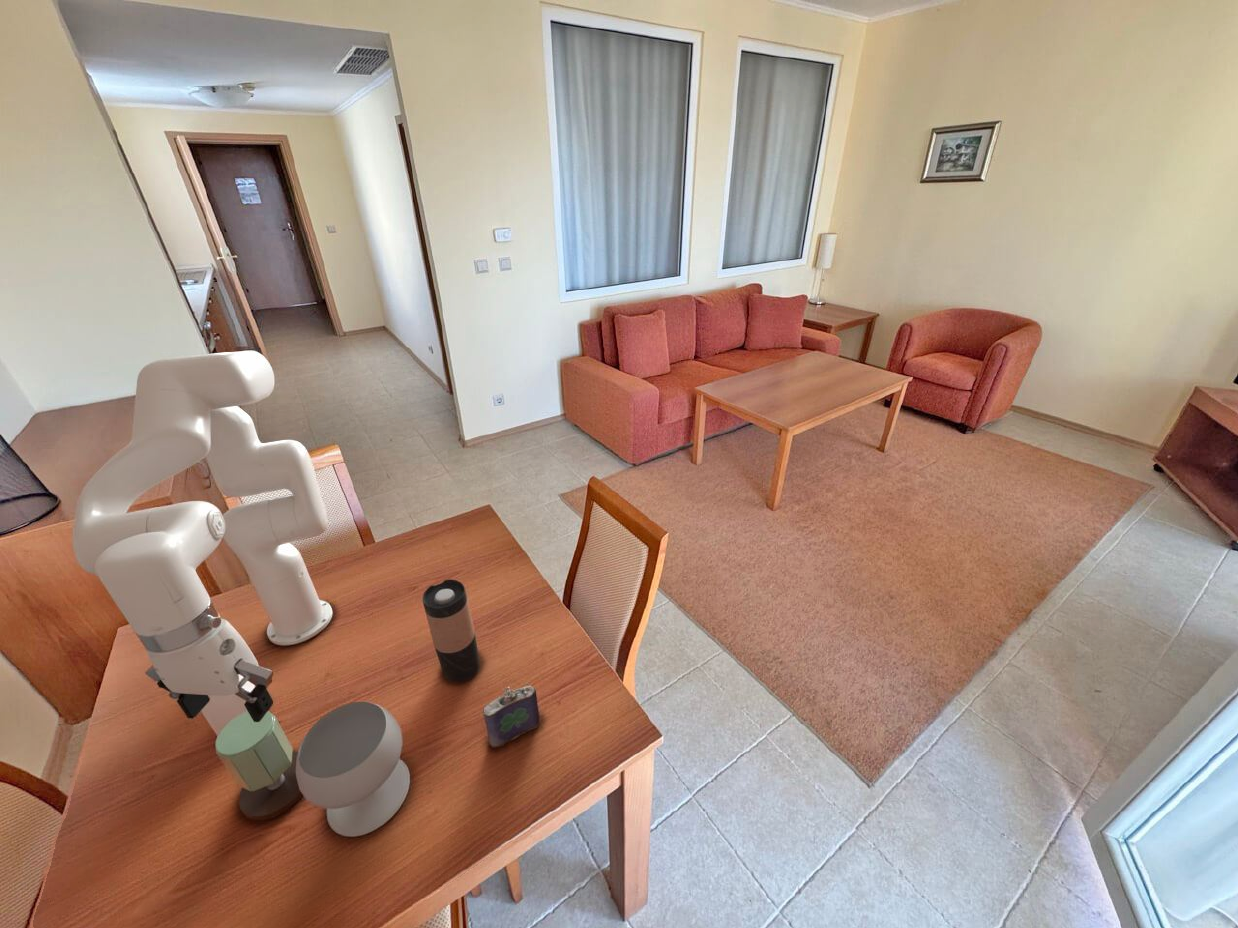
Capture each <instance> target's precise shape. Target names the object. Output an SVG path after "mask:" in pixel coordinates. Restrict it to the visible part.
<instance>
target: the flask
mask: <svg viewBox="0 0 1238 928" xmlns="http://www.w3.org/2000/svg"><path fill="white" fill-rule="evenodd" d="M510 688H511V687H510V686H506V687H504V689H502V690H501V691H502V692H503V695H501V696H499V697H498V698H496V699H494V700H492V701H491V702H490V703H488V704H487V705H485V706H484V708H483V710H482V714H483V719H484V722H485V727H486V732H487V736H488V742H489V745H490V746H491V747H492V748H499V747H503V746H505V744H506V743H508V742H510V741H513V740H515V739H517V738H518V737H519V736H520V735H521V734H523V735H524V734H525V733H526V732H529V731H531V730H533V729H536V728H537V727H538V726H539V724H540V723H541V721H540V712H539V704H538V695H537V690H536V689H535V687H534V686H532V685H525V686H523V687H520V688H516V689H510ZM504 690H505V691H504Z"/></svg>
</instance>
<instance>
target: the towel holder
mask: <svg viewBox="0 0 1238 928" xmlns="http://www.w3.org/2000/svg"><path fill="white" fill-rule="evenodd" d="M297 755H298V751H296V750H295V751H294V750H293V752H292V762H291V764H290V766H289V767H288V768H287V770H286V771H285V772H284V773H283V774H282V775H281V776H280V777H279V778H278V779H277V781H276V782H274V783H273V784H270V785H268V786H265V787H263V788H260V789H258V790H255V791H249V790H247V789H244V788H242V787H241V790H240V792H239V795H238V806H239V808H240V811H241V812H242V813H243V814H244V816H245V817H247V818H248V819H250V820H253V821H264V820H265V821H266V820H269V819H272V818H275V817H277V816H279V815H281V814H283V813H285V812H286V811H287V810H290V809H291V808H292V807H293V806H294V805H295V804H297V803H298V801H299V800H300V799H301V798H302V797H304V796H303V794H302V793H301V791H300V789H299V786H298V782H297V777H296V760H297Z"/></svg>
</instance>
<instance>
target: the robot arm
mask: <svg viewBox="0 0 1238 928" xmlns="http://www.w3.org/2000/svg"><path fill="white" fill-rule="evenodd" d="M274 374H275V373H274V370H273V368H272V366H271V364H270V362H269V361H268V359H267V358H266V357H265V356H264V355H263V354H262V353H261V352H258V351H256V350H252V349H251V350H239V351H227V352H214V353H206V354H197V355H185V356H178V357H170V358H163V359H158V360H154V361H153V362H150V363H147V364H146V365H145V366H144V367H143V368H141V370H140V371H139V372H138V375H137V379H136V388H135V398H134V410H133V418H132V419H133V420H132V428H131V440H130V442H129V443H128V444H126V446H124V447H122V448H121V449H120V450H119V451H118V452H116V453H115V454H114V455H113V456H112V457H110V458H109V459H108V461H106V462H105V463H104V464H103V465H102V466H101V467H100V468H99V469H98V471H96V472H95V473H94V474H93V475H92V476H91V478H89V480H88V481H87V482H86V483H85V485H84V487H83V488H82V490H81V492H80V494H79V496H78V499H77V502H76V506H75V515H74V520H73V526H72V527H73V529H72V549H73V555H74V558H75V560H76V562H77V563H78V565H79V566H80V567H81V568H82V569H83V570H84V571H85V572H86V573H88V574H91V575H94V576H96V577H98V579H99V580H100V583H102V585H103V586H104V588H105V590H106V591H107V593H108V594H109V596H110V597H111V598H112V600H113V602H114V603H115V604H116V606H117V607H118V609H119V611H120V612H121V613H122V615H123V617H124V618H125V619H126V621H127V623H128V624H129V626H130V627H131V629H132V630H133V632H134V633H135V634H136V636H137V638H138V639H139V641H140V642H141V644H142V646H143V647H144V649H145V651H146V654H147V657H148V659H149V661H150V663H151V666H150V667H149V668H148V669H146V671H144V674H145V675H146V676H148V677H149V678H150V679H152V680H153V681H154V682H157V683H156V685H157V686H158V688H160V689H163V690H165V691H168V692H169V693H168V697H169V698H170V699H173V700H176V703H177V704H178V706H179V707H180V708H181V710H182V711H183V713H184V715H185V717H187V719H194V718H196V717H197V716H198V715H199V714H200V713H201V710H202V709H203V708H204V707H205V706H206V704H207V703H208V702H209V701H210V698H209V696H208V695H222V696H226V695H232V694H235V695H237V696H239V697H240V698H242V699H244V700H245V701H246V702H245V704H244V705H245V707H246V709H247V711H248V712H249V714H250V716H251V718H252V719H253V721H254V722H260V721H261V719H262V718H263V717H264V715H265V714H266V713H267V711H270V709H271V708H272V706H273V705H274V700H273V698H272V697H271V694H270V692H269V691H268V688H269V686H271V684H272V683H273V676H274V672H273V670H272V669H269V668H266V667H264V666H260V665H259V662H258V660H257V658H256V657H255V655H254V654H253V652H252V650H251V648H250V647H249V645H248V644H247V643H246V641H245V639H244V638H243V637H242V635H241V634H240V633H239V632H238V631H237V629H235V627H234V626H233V625H232V624H231V623H230V622H229V621H228V620H227V619H225V618H221V616H220V613H219V612H218V610H217V608H216V606H215V604H214V603H213V601H212V599H211V597H210V594H209V593H208V591H207V589H206V588H205V586H204V584H203V581H202V580H201V578H200V577H199V575H198V573H197V568H198V567H199V566H200V565H201V564H202V563H203V562H204V561H205V560H207V558H208V557H210V555H211V554H212V553H213V552H214V551H215V550H216V549H217V548H218V547H219V545H220V543H221V542H222V540H223V541H224V542H225V544H226V546H228V548H229V549H230V550H231V551H232V553H234V554H235V556H236V557H237V558H238V560H239V562H240V563H241V565H242V566H243V568H244V570H245V572H246V574H247V576H248V578H249V580H250V582H251V584H252V587H253V588H254V590H255V592H256V594H257V597H258V599H259V601H260V603H261V604H262V607H263V608H264V611H265V613H266V615H267V617H268V620H269V624H268V626H267V629H266V635H267V638H268V639H269V641H270V642H271V643H273V644H275V645H278V646H291V645H297V644H300V643H303V642H306V641H308V640H310V639H312V638H313V637H315V636H317V635H318V634H319V633H321V632H322V631H323V630H324V629H326V627H327V626H328V625H329V623H330V622H331V620H332V618H333V614H334V613H333V609H332V605H330V603H329V602H327V601H325V600H323V599H320V598H319V595H318V593H317V590H316V588H315V586H314V583H313V581H312V578H311V576H310V572H309V571H308V568H307V566H306V564H305V561H304V558H303V557H302V554H301V552H300V550H298V548H297V547H295V546H294V545H293V544H291V543H295V542H299V541H303V540H304V541H305V540H307V539H312V538H314V537H318V536H321V535H322V534H323V533H325V532H326V530H327V528H328V525H329V518H328V513H327V508H326V505H325V501H324V497H323V495H322V491H321V488H320V485H319V480H318V477H317V474H316V471H315V467H314V464H313V462H312V461H313V460H312V458H311V456H310V454H309V451H308V449H307V448H306V447H305V445H304V444H302V443H301V442H300V441H297V440H294V439H281V440H275V441H269V442H264V443H263V442H261V440H260V438H259V437H258V433H257V429H256V427H255V423H254V421H253V419H252V417H251V416H250V415H249V414H248V413H247V412H246V411H244V410H243V409H242V408H241V407H240V406H246V405H250V404H251V405H252V404H255V403H258V402H260V401H263V400H265V399H267V398H268V397H270V395H271V394H272V393H273V391H274V388H275V381H276V380H275V379H276V378H275V375H274ZM205 458H206V460H207V463H208V466H209V469H210V471H211V475H212V478H213V480H214V484H215V485H216V487H217V489H218V491H219V492H220V493H221V494H222V495H223V496H224V497H227V498H244V497H245V498H246V497H250V496H251V497H252V496H257V495H261V494H266V493H272V492H277V491H282V490H288V491H289V492H291V493H290V494H285V495H280V496H276V497H268V498H263V499H258V500H253V501H249V502H245V503H241V504H238V505H236V506H233V507H231V508H230V509H228V510H226V511H225V512H224V513H223V514H222V512H221V510H220V509H219V508H218V507H217V506H216V505H214V504H213V503H211V502H208V501H203V500H191V501H184V502H178V503H177V502H176V503H174V504H173V503H172V504H168V505H161V506H158V507H157V506H156V507H155V506H154V507H149V508H146V509H145V508H144V509H139V510H135V511H129V509H130V507H131V506H132V505H133V504H134V503H135V502H136V500H138V499H139V498H140V497H141V496H142V495H143V494H145V493H146V492H148V491H149V490H151V489H153V488H154V487H155V486H158V485H159V484H161V483H163V482H165V481H167V480H168V479H171V478H174V477H175V476H177V475H179V474H180V473H182V472H184V471H185V470H188V469H189V468H191V467H193V466H195V465H196V464H198V463H199V462H201V461H203V460H204V459H205ZM128 511H129V512H128ZM238 674H240V675H241V676H243V678H242V679H241V681H240V682H239V676H238ZM247 681H249V682H251V683H252V684H254V686H255V688H254V689H253V690H252V691H251V692H249V691H247V690H245V689H244V688H242V686H243V685H244V684H245V683H246V682H247Z"/></svg>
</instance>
